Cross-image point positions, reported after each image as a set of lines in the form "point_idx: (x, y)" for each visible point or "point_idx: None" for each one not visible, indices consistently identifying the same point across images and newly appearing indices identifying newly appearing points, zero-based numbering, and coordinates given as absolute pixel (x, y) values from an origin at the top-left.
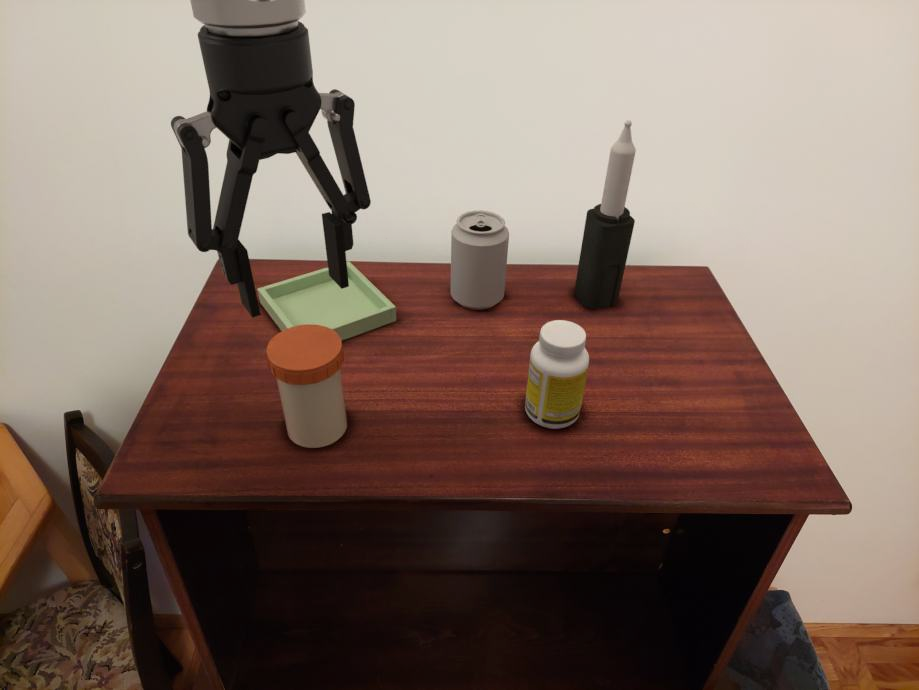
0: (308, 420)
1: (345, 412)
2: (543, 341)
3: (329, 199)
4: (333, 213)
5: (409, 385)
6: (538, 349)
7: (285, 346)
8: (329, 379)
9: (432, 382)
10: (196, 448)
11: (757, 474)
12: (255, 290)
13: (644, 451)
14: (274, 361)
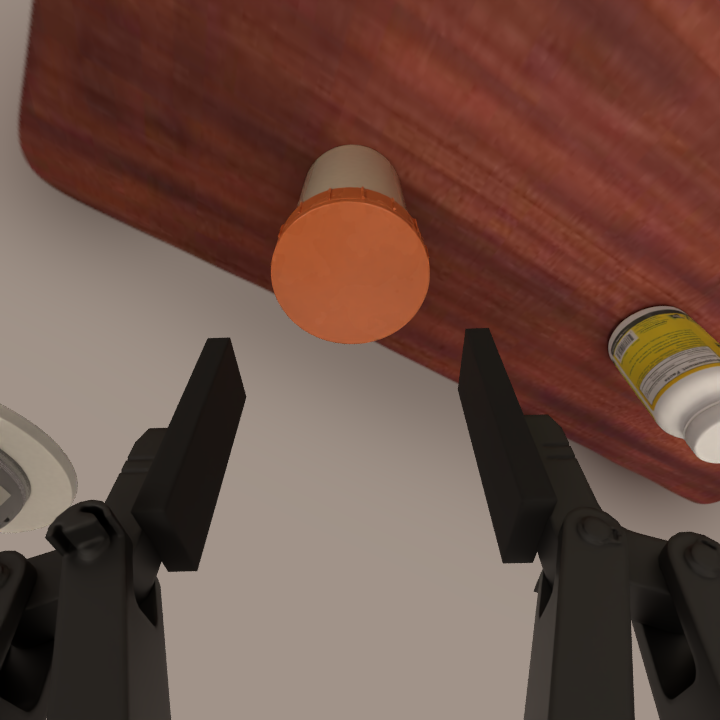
0: None
1: None
2: (697, 433)
3: (530, 669)
4: (549, 539)
5: (536, 183)
6: (692, 401)
7: (313, 263)
8: None
9: (572, 197)
10: (152, 141)
11: (696, 473)
12: (230, 449)
13: None
14: (280, 296)
